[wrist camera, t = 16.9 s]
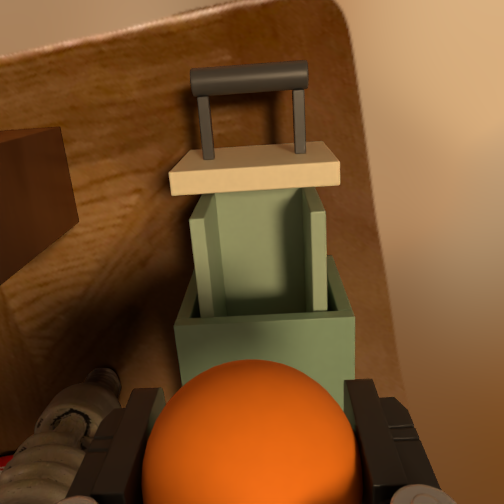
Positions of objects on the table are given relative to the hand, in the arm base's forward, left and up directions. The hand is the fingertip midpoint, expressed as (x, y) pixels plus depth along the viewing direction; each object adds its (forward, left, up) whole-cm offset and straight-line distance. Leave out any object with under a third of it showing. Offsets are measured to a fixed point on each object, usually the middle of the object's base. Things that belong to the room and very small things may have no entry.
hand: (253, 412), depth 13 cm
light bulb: (-13, -13, -21) cm, 28 cm away
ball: (0, 0, +2) cm, 2 cm away
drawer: (0, 0, -20) cm, 20 cm away
